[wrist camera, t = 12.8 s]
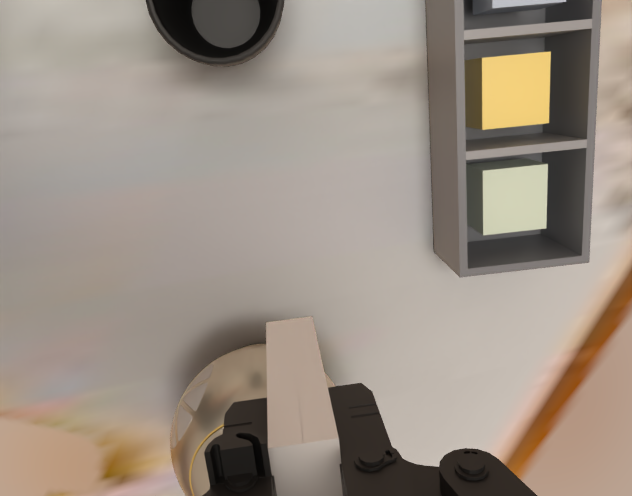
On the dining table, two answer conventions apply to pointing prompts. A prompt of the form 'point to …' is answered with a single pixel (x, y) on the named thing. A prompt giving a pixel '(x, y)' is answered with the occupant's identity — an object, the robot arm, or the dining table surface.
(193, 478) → the teapot
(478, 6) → the key
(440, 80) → the compartment tray
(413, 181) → the dining table surface
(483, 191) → the key
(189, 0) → the mug
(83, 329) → the dining table surface
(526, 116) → the key
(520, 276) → the dining table surface
